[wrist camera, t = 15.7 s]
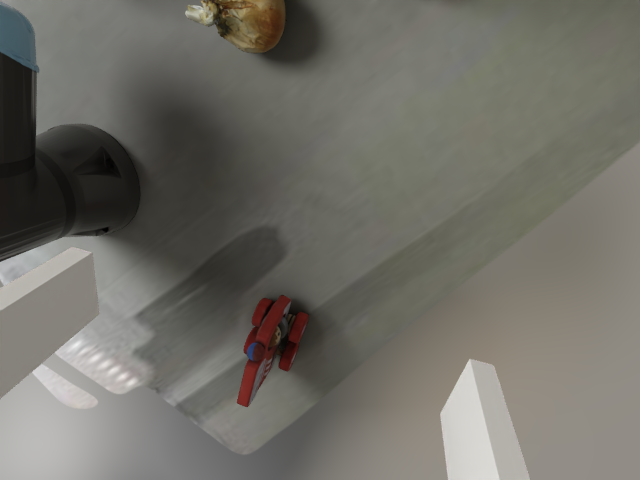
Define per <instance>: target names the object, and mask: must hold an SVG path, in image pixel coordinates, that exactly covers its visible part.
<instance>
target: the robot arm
mask: <svg viewBox="0 0 640 480" xmlns="http://www.w3.org/2000/svg"><path fill="white" fill-rule="evenodd" d="M37 73H39V67H38V66H37V65H36V49H35V33H34V29H33V27H32V25H31V23H30V22H29V20H28V19H27V18H26V17H25V16H24V15H23V14H22V13H21V12H19V11H18V10H16V9H15V8H13V7H11V6H9V5H7V4H4V3H2V2H0V262H1V261H4V260H6V259H9V258H11V257H14V256H16V255H19V254H21V253H24V252H26V251H29V250H31V249H34V248H36V247H39V246H41V245H44V244H47V243H49V242H51V241H54V240H57V239H59V238H62V237H80V236H101V235H105V234H109V233H111V232H114V231H116V230H118V229H121V228H123V227H124V226H126V225H127V224H128V223H129V222H130V221H131V220H132V218H133V217H134V215H135V213H136V211H137V208H138V204H139V195H140V192H139V183H138V178H137V174H136V171H135V169H134V166H133V164H132V162H131V160H130V158H129V157H128V155H127V154H126V152H125V151H124V149H123V148H122V147H121V146H120V145H119V144H118V142H117V141H116V140H114V139H113V138H112V137H111V136H110V135H108V134H107V133H105V132H104V131H102V130H100V129H98V128H96V127H93V126H90V125H86V124H69V125H60V126H56V127H53V128H51V129H49V130H48V131H46V132H44V133H42V134H39V135H37V136H36V96H37ZM98 315H99V306H98V297H97V289H96V280H95V271H94V262H93V254H92V252H89V251H85V250H82V249H78V248H74V247H71V248H69V249H68V250H66V251H64V252H62V253H61V254H59V255H57V256H55V257H54V258H52V259H50V260H49V261H47V262H45V263H43V264H42V265H40V266H38V267H36V268H35V269H33V270H31V271H29V272H28V273H26V274H24V275H23V276H21V277H19V278H17V279H16V280H14V281H12V282H10V283H9V284H7V285H5V286H3V287H2V288H0V399H1V398H2V397H3V396H4V395H5V394H6V393H8V392H9V391H10V390H11V389H12V388H13V387H15V386H16V385H17V384H18V383H19V382H20V381H22V380H23V379H24V378H25V377H26V376H27V375H29V374H30V373H31V372H32V371H33V370H34V369H36V368H37V367H38V366H39V365H40V364H41V363H43V362H44V361H45V360H46V359H47V358H48V357H50V356H51V355H52V354H53V353H54V352H55V351H57V350H58V349H59V348H60V347H61V346H63V345H64V344H65V343H66V342H67V341H68V340H70V339H71V338H72V337H73V336H74V335H75V334H77V333H78V332H79V331H80V330H81V329H82V328H84V327H85V326H86V325H87V324H88V323H89V322H91V321H92V320H93V319H94V318H95V317H96V316H98ZM440 417H441V426H442V434H443V442H444V450H445V459H446V467H447V474H448V480H530V477H529V474H528V471H527V468H526V465H525V461H524V458H523V455H522V452H521V449H520V446H519V443H518V440H517V437H516V433H515V431H514V427H513V424H512V421H511V418H510V414H509V411H508V408H507V405H506V402H505V399H504V396H503V392H502V389H501V386H500V383H499V380H498V377H497V374H496V371H495V368H494V365H491V364H487V363H484V362H480V361H476V360H473V359H469V361H468V363H467V365H466V367H465V368H464V370H463V372H462V374H461V376H460V378H459V380H458V382H457V383H456V385H455V387H454V389H453V391H452V393H451V395H450V397H449V398H448V400H447V402H446V404H445V406H444V408H443V409H442V412H441V413H440Z"/></svg>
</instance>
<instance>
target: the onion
mask: <svg viewBox="0 0 640 480" xmlns="http://www.w3.org/2000/svg"><path fill="white" fill-rule="evenodd" d="M201 3H202V4H203V6H196V5H188V6H187V8H188V11H186V16H187V18H188V19H190V20H193V21H195V22H198V23H201V24H203V25H205V26H208V27H209V26H212V25H213V24H215V25H216V27H217V29H218V33H219V34H220V36H221V37H223V38H224V39H226V40H227V41H229V42H230V43H232V44H233V45H235V46H236V47H237V48H239V49H241V50H242V51H244V52H247V53H261V52H266V51H268V50H270V49H271V48H273V47H274V46H275V45H276V44H277V43H278V42H279V40H280V38H281V36H282V34H283V31H284V27H285V20H286V19H285V18H286V16H285V2H284V0H207V2H206V1H204V0H201ZM286 21H287V20H286Z"/></svg>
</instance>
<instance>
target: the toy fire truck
mask: <svg viewBox="0 0 640 480" xmlns="http://www.w3.org/2000/svg"><path fill="white" fill-rule="evenodd" d="M290 304H291V299H290V298H288V297H286V296H284V295H281V296H280V297H279V298H278V300H277V301H276V302H275V303H274V305H273V301H272V300H270V299H267V298H263V299H261V301H260V302H259V303H258V305H257V307H256V309H255V312H254V314H253V317H252V324H253V325H254V326H255V327H254V328H253V329H252V330H251V332H250V334H249V335H248V338H247V340H246V342H245V346H244V353H245V354H247V356H248V358H249V360H248V361H247V364H246V366H245V370H244V374H243V379H242V383H241V387H240V391H239V395H238V399H237V403H238V404H240V405H242V406H245V407H248V406H249V405H250V404H251V402H252V401H253V399H254V397H255V395H256V393H257V391H258V389H259V387H260V386H261V384H262V382H263V381H264V379H265V378H266V376H267V374H268V373H269V371H270V369H271V368H272V366H273V364H274V361H275V358H276V354H277V355H280V356H281V359H280V362H279V368H280V369H282V370H284V371H289V370H290V368H291V366H292V364H293V362H294V359H295V356H296V354H297V351H298V347H299V344H298V343H299V341H300V340H301V338H302V336H303V333H304V331H305V328H306V326H307V323H308V319H309V315H308V314H305V313H303V312H299V313H298V314H297V315H296V316H294V315H292V314H289V315H288V311H289V308H290ZM286 333H288V334H289V336H288V340H289V341H288V342H287V344H286V347H285V349H281V348H279V346H280V340H281V339H282V338H283V337H284V336H285V335H286Z"/></svg>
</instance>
